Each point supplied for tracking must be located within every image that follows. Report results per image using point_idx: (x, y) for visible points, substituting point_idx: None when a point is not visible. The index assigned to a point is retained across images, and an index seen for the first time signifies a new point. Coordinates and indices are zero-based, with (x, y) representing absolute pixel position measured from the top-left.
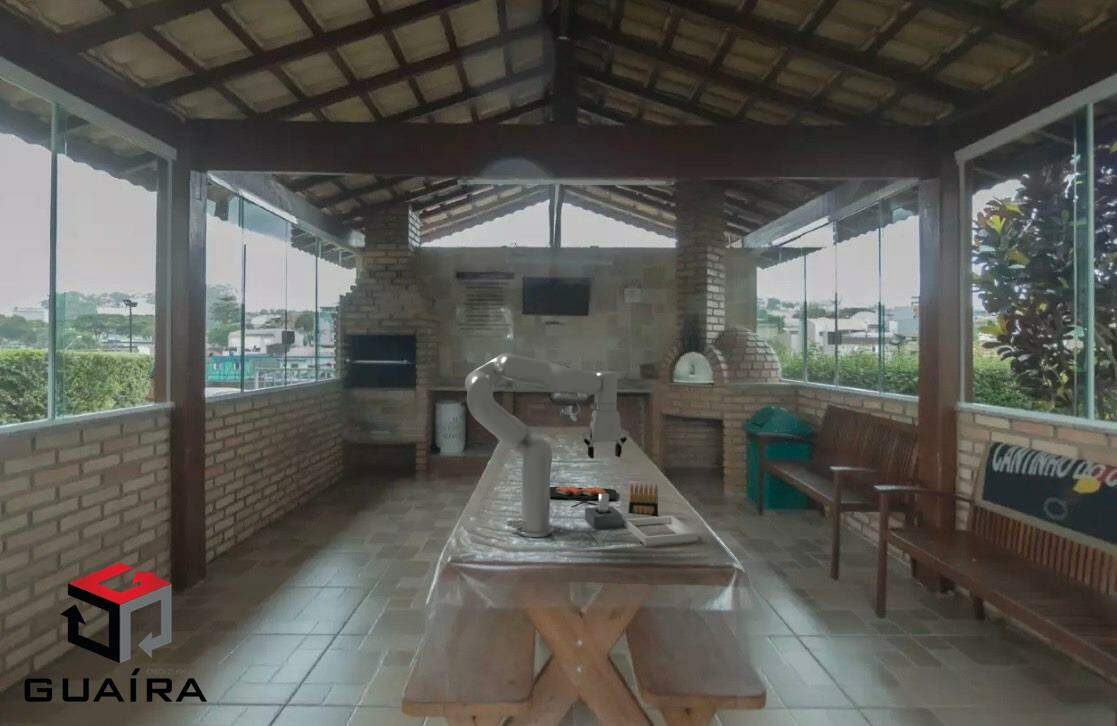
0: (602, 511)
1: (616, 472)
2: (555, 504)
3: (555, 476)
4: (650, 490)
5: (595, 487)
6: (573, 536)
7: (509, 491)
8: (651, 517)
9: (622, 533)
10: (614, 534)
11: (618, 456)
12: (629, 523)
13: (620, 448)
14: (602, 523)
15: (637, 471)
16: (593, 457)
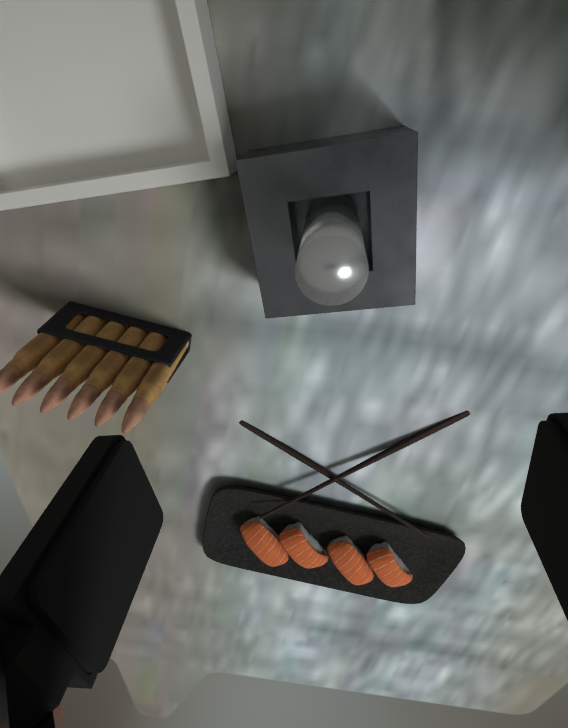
0: (344, 210)
1: (179, 663)
2: (450, 482)
3: (360, 668)
4: (36, 376)
5: (274, 562)
6: (549, 51)
7: (558, 602)
8: (80, 195)
9: (259, 81)
10: (305, 67)
11: (121, 442)
12: (208, 97)
13: (19, 548)
14: (359, 137)
15: (121, 659)
16: (550, 425)
